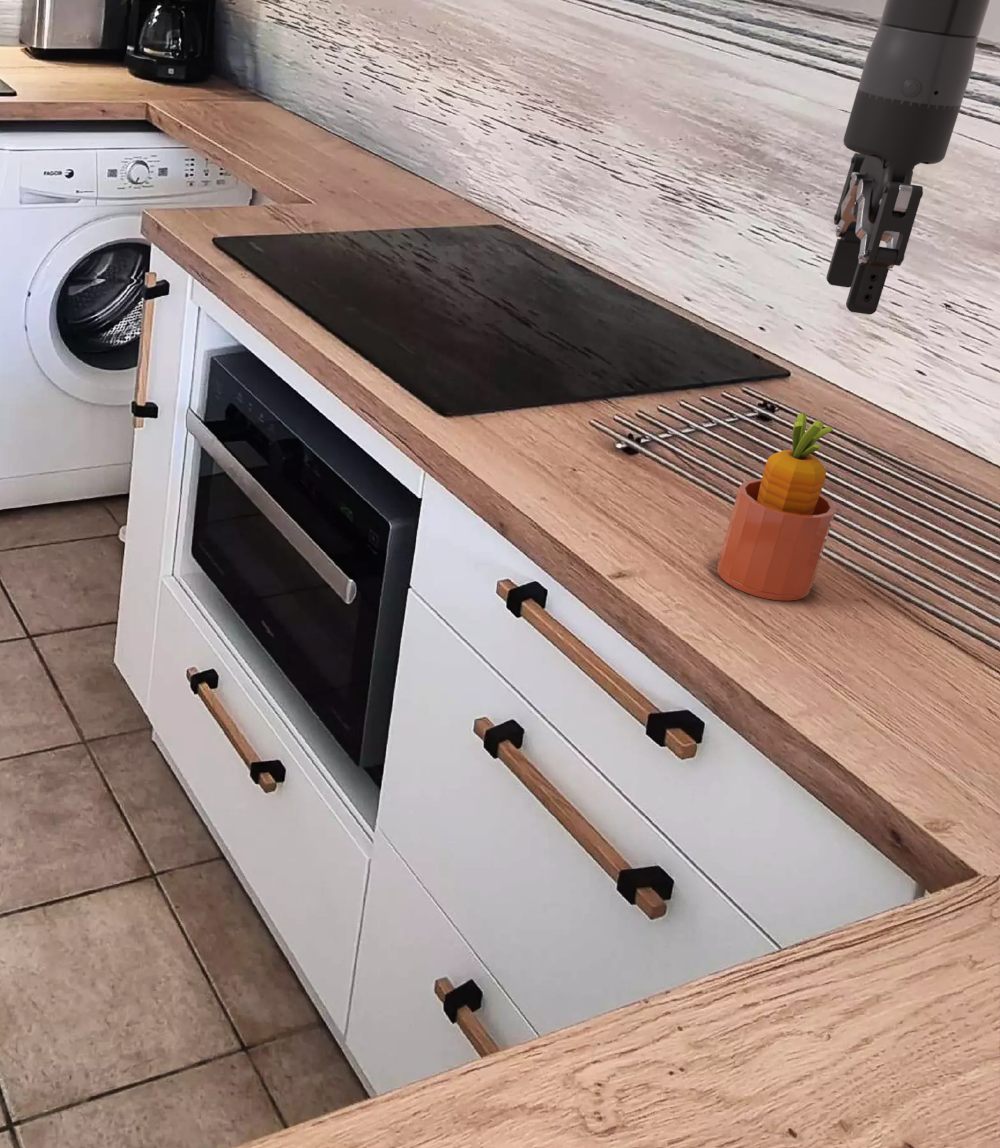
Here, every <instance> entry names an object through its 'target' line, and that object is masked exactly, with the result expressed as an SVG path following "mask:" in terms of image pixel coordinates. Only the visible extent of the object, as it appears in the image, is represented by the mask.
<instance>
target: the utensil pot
mask: <svg viewBox="0 0 1000 1148" xmlns="http://www.w3.org/2000/svg"><path fill="white" fill-rule="evenodd" d="M761 481H762V478H754V479H749V480H746V481H743V482H742V483H741V485H739V487H738V490H737V494H736V498H735V501H734V505H733V508H732V512H731V515H730V518H729V522H728V526H727V529H726V532H725V535H724V540H723V543H722V546H721V550H720V554H719V557H718V561H717V567H716V572H717V574H718V576H719V577H720V579H722V580H723V581H724V582H725V583H727V584H728V585H729V586H731V587H733V588H735V589H737V590H738V591H741V592H743V593H745V594H748V595H752V596H755V597H758V598H762V599H766V600H774V601H781V602H782V601H783V602H785V601H786V602H789V601H797V600H801V599H803V598H805V597H807V596H808V595H809V593H810V591H811V588H812V586H813V583H814V580H815V577H816V575H817V571H818V567H819V564H820V561H821V559H822V555H823V553H824V549H825V546H826V543H827V540H828V536H829V533H830V530H831V527H832V523H833V522H834V518H835V514H836V511H837V508H836V506H835V504H834V502H833V501H832V500H831V499H830V498H828V497H827V496H825V495H824V494H822V493H820V495H819V498H818V501H817V504H816V506H815V509H814V511H813V514H812V515H799V514H793V513H787V512H783V511H780V510H777V509H773V508H770V507H768V506H765V505H763V504H761V503H759V502H757V498H758V493H759V489H760V484H761Z"/></svg>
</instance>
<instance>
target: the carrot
mask: <svg viewBox="0 0 1000 1148" xmlns="http://www.w3.org/2000/svg"><path fill="white" fill-rule="evenodd" d="M807 419H808V417H807V414H806V413H805V412H804V413H802V412H801V413H798V414H797V415H796V421H795V422H794V423H793V428H792V434H791V435H792V449H784V450H781V451H778V452H775V453H773V454H771V455H769V457H768V458H767V460H766V462H765V465H764V468H763V469H764V470H763V473H762V477H761V479H762V481H761V484H760V489H759V493H758V498H757V502H759V503H761V504H763V505H765V506H768V507H770V508H773V509H777V510H780V511H783V512H787V513H793V514H799V515H812V514H813V511H814V509H815V506H816V504H817V501H818V498H819V495H820V494H822V493H821V492H822V489H823V486H824V484H825V481H826V477H827V470H826V468H825V466H824V465H823V463H822V462H821V460H819V458H817V457H816V456H815V455H813V454H814V453H815V452H817V451H819V450H820V449H821V445H820V444H818V443H817V444H816V442H817V441H819V440H820V439H821V438H822V437H824V436H825V435H827V434H830V433H832V432H833V431H834V429H833V427H831V426H826V427H824V426H825V424H824V423H823V422H822V421H821V420H815V421H814V422H813V423H812V424H811V425H810V427H808V429H807ZM806 429H807V430H806Z"/></svg>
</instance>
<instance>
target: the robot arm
mask: <svg viewBox="0 0 1000 1148" xmlns="http://www.w3.org/2000/svg"><path fill="white" fill-rule="evenodd" d="M990 1H991V0H885V4H884V8H883V11H882V16H881V19H880V23H879V25H878V28H877V31H876V33H875V35H874V38H873V39H872V42H871V45H870V47H869V50H868V52H867V55H866V58H865V62H864V65H863V69H862V73H861V76H860V79H859V82H858V87H857V90H856V93H855V97H854V101H853V103H852V107H851V111H850V114H849V118H848V122H847V126H846V128H845V132H844V136H843V145H844V146H845V147H846V148H847V149H848V150H850V151H851V152H854V154H853V156H852V157H851V159H850V165H849V169H848V173H847V176H846V179H845V182H844V185H843V189H842V193H841V195H840V199H839V202H838V206H837V209H836V212H835V214H834V215H833V224H834V226H836V227H835V236H836V238H837V239H836V243H835V245H834V248H833V249H834V250H833V253H832V257H831V260H830V263H829V267H828V270H827V274H826V277H825V278H826V281H827V283H828V284H829V285H831V286H835V287H841V288H850V289H849V292H848V296H847V299H846V303H845V306H846V308H847V310H848V311H849V312H851V313H856V314H861V315H862V314H863V315H873V314H875V313H876V312H877V309H878V306H879V303H880V299H881V296H882V293H883V290H884V287H885V284H886V280H887V277H888V273H889V270H890V269H891V270H892V269H893V268H894V266H897V267H900V266H901V265H902V263H903V262H904V260H905V255H906V254H905V253H906V251H907V247H908V244H909V241H910V238H911V233H912V230H913V227H914V223H915V220H916V216H917V213H918V209H919V206H920V203H921V199H922V198H923V194H924V188H923V187H924V186H922V185H917V184H912V181H913V180H912V179H913V175H914V170H915V167H916V166H917V165H919V164H924V165H934V164H939V163H941V162H942V161H943V160H944V159H945V157H946V154H947V151H948V148H949V145H950V142H951V139H952V135H953V132H954V129H955V126H956V122H957V119H958V116H959V113H960V110H961V107H962V103H963V100H964V96H965V93H966V91H967V87H968V84H969V81H970V77H971V75H972V70H973V65H974V61H975V56H976V55H975V54H976V50H977V45H978V41H979V36H980V33H981V30H982V27H983V24H984V20H985V18H986V15H987V11H988V7H989V5H990ZM881 242H885V243H886V246H880V244H881Z"/></svg>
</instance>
